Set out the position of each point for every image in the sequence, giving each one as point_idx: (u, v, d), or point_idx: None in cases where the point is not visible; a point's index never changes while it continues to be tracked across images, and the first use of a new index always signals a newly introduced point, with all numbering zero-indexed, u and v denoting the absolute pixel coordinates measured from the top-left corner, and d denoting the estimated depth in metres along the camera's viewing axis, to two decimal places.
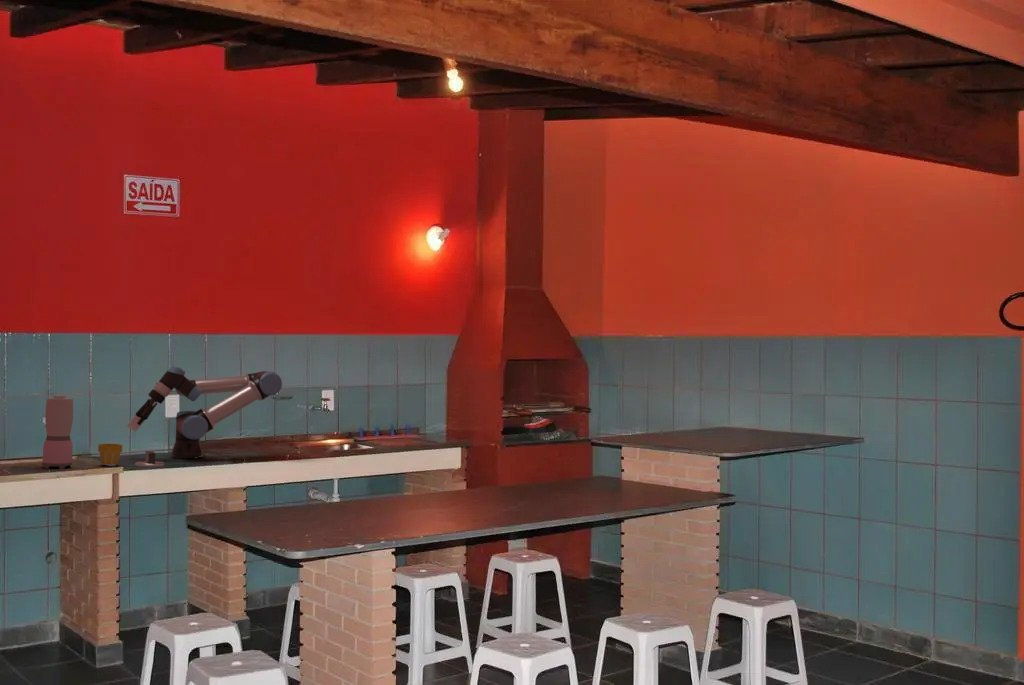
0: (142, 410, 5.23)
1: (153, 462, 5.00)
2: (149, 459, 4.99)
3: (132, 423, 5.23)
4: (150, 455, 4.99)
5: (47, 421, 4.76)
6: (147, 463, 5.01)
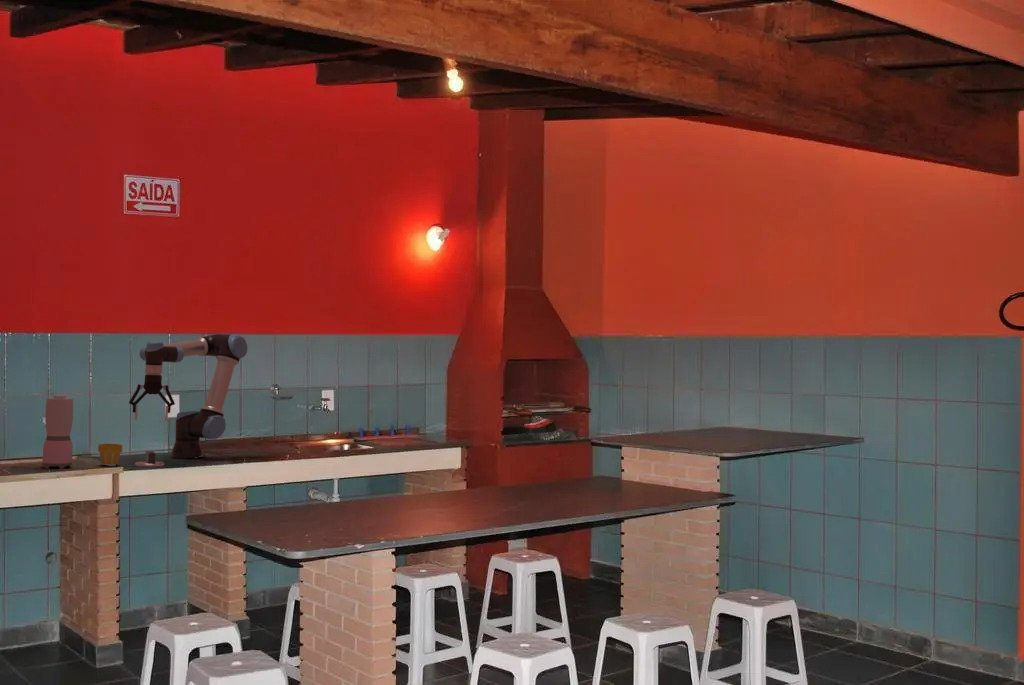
0: None
1: (153, 462, 5.00)
2: (149, 459, 4.99)
3: None
4: (150, 455, 4.99)
5: (47, 421, 4.76)
6: (147, 463, 5.01)
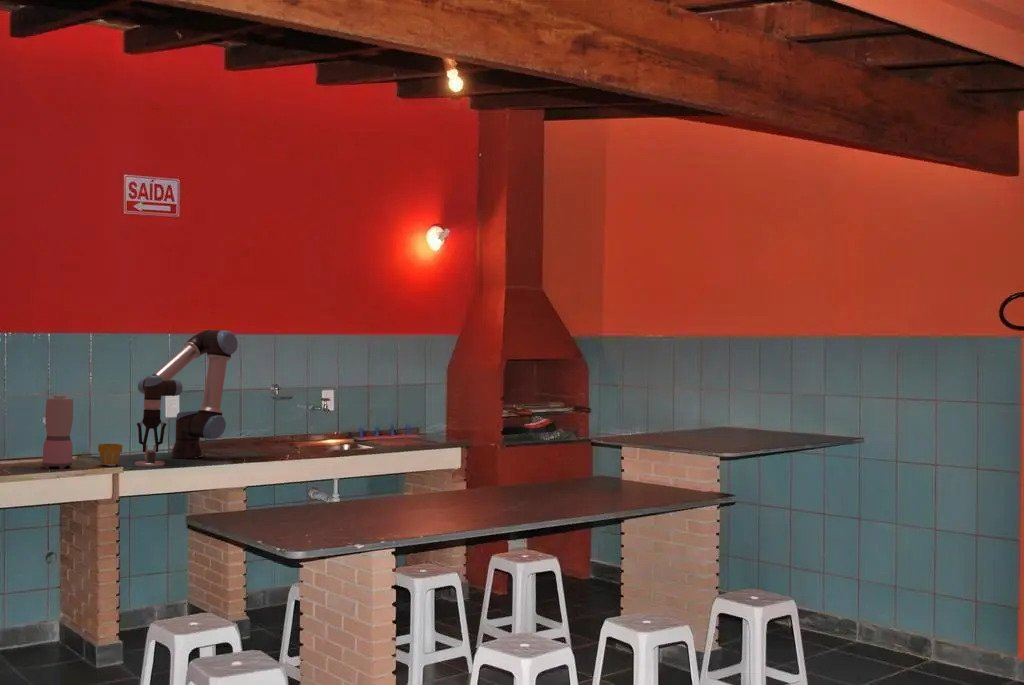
0: (147, 434, 5.03)
1: (153, 461, 5.00)
2: (149, 458, 4.99)
3: (146, 454, 5.03)
4: (150, 454, 4.99)
5: (47, 421, 4.76)
6: (147, 462, 5.01)
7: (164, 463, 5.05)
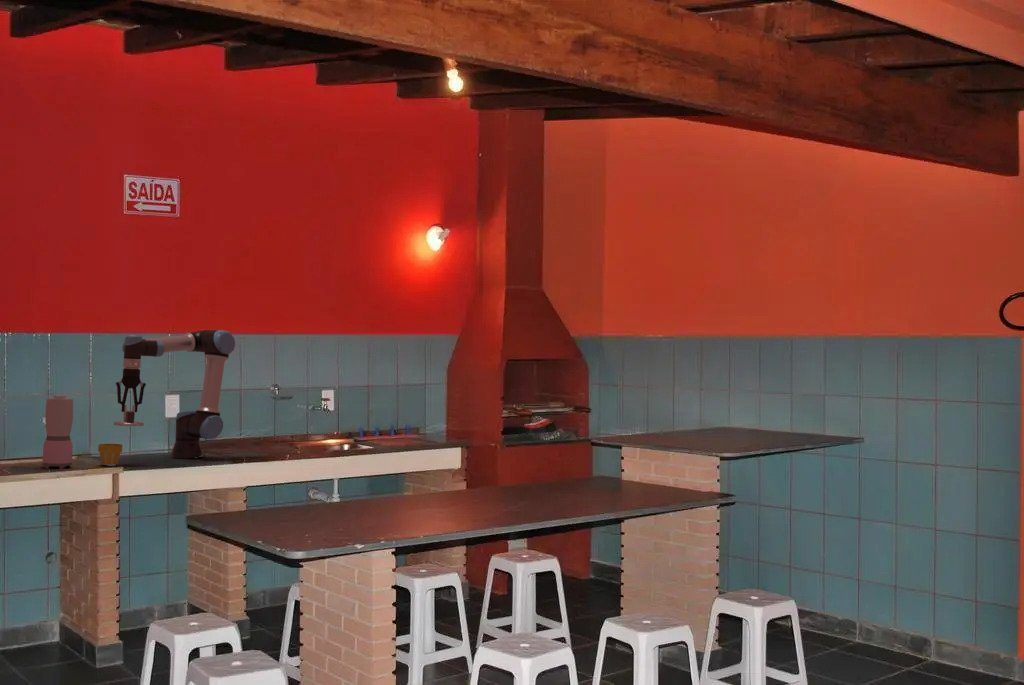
0: (126, 394, 4.97)
1: (132, 421, 4.94)
2: (128, 418, 4.93)
3: (125, 413, 4.97)
4: (129, 414, 4.93)
5: (47, 421, 4.76)
6: (126, 422, 4.95)
7: (143, 423, 5.00)
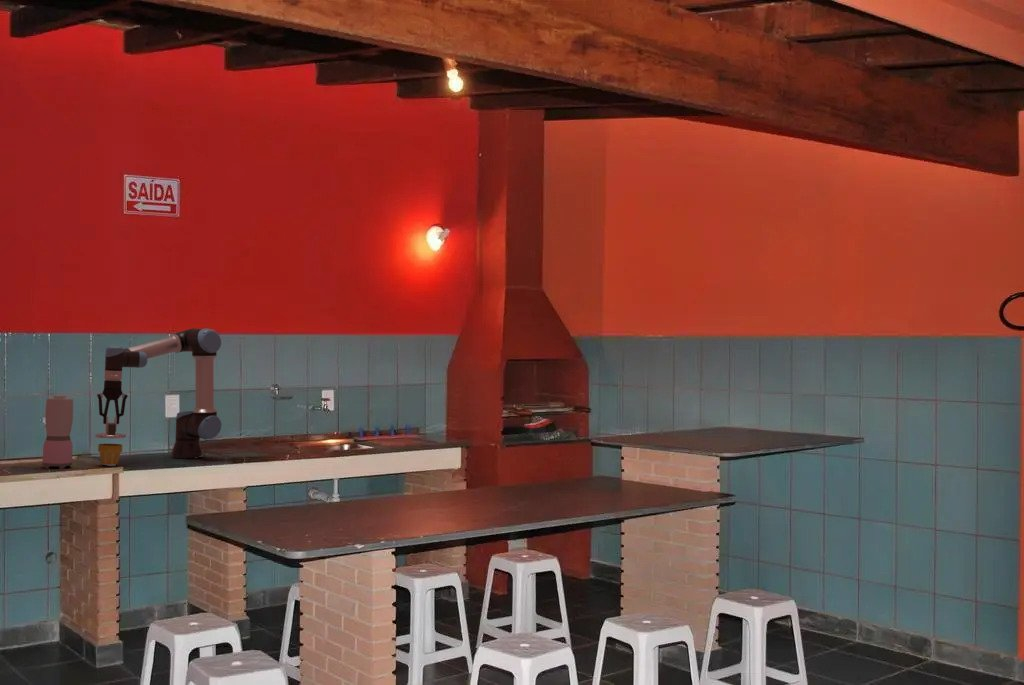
0: (108, 406, 4.93)
1: (113, 433, 4.90)
2: (109, 430, 4.89)
3: (107, 425, 4.93)
4: (110, 426, 4.89)
5: (47, 421, 4.76)
6: (107, 434, 4.91)
7: (125, 435, 4.96)
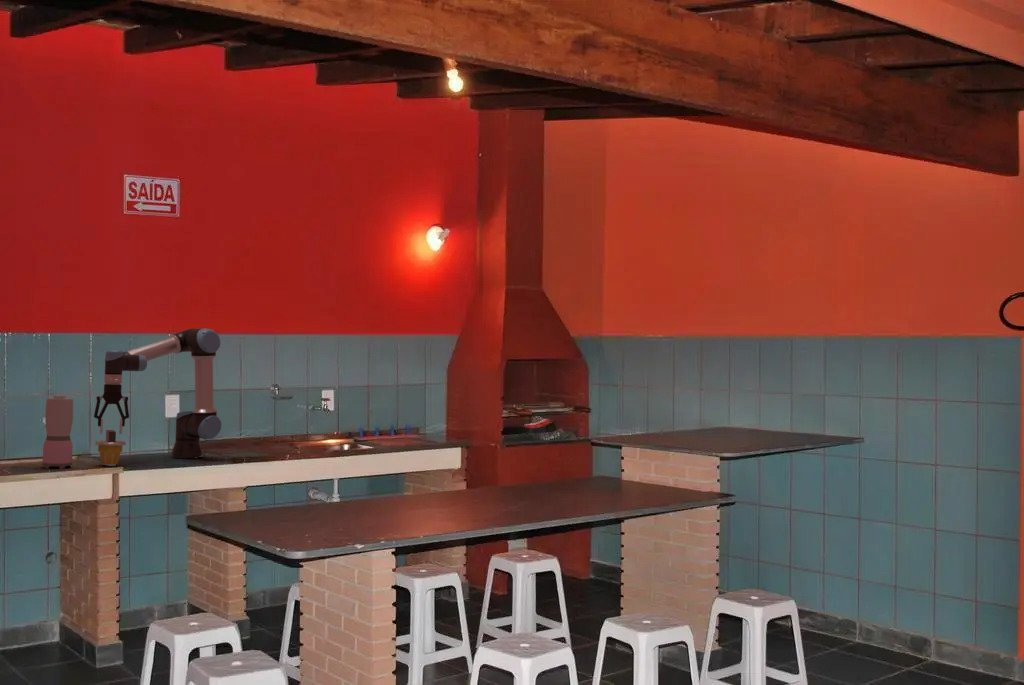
0: (105, 409, 4.93)
1: (113, 441, 4.90)
2: (109, 438, 4.89)
3: None
4: (110, 434, 4.89)
5: (47, 421, 4.76)
6: (107, 442, 4.91)
7: (125, 443, 4.96)
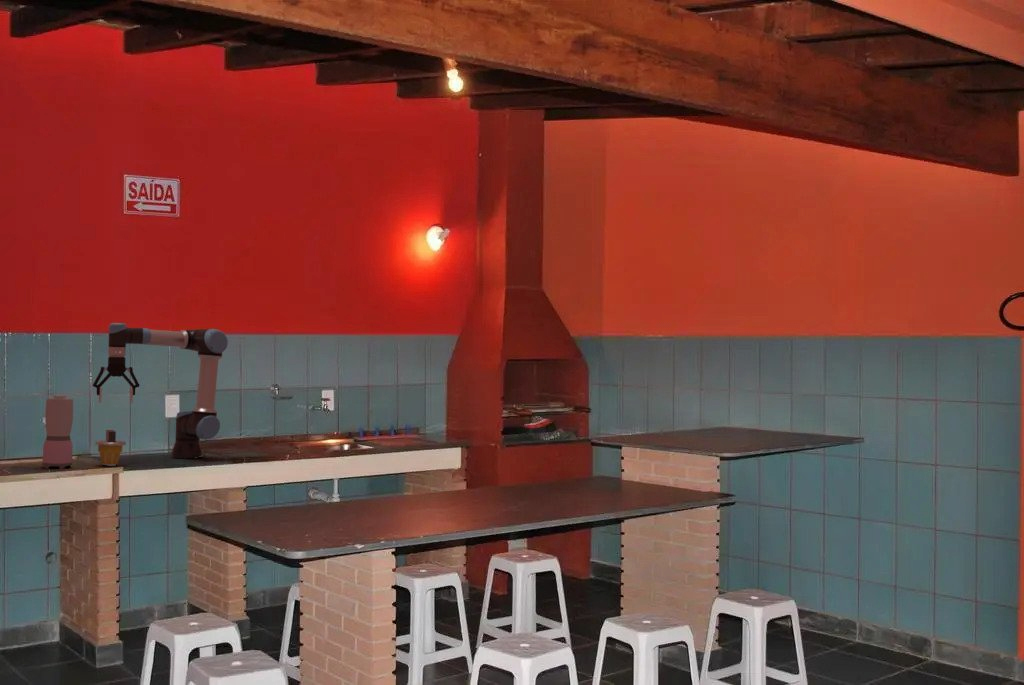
0: (106, 380, 4.96)
1: (113, 441, 4.90)
2: (109, 438, 4.89)
3: None
4: (110, 434, 4.89)
5: (47, 421, 4.76)
6: (107, 442, 4.91)
7: (125, 443, 4.96)
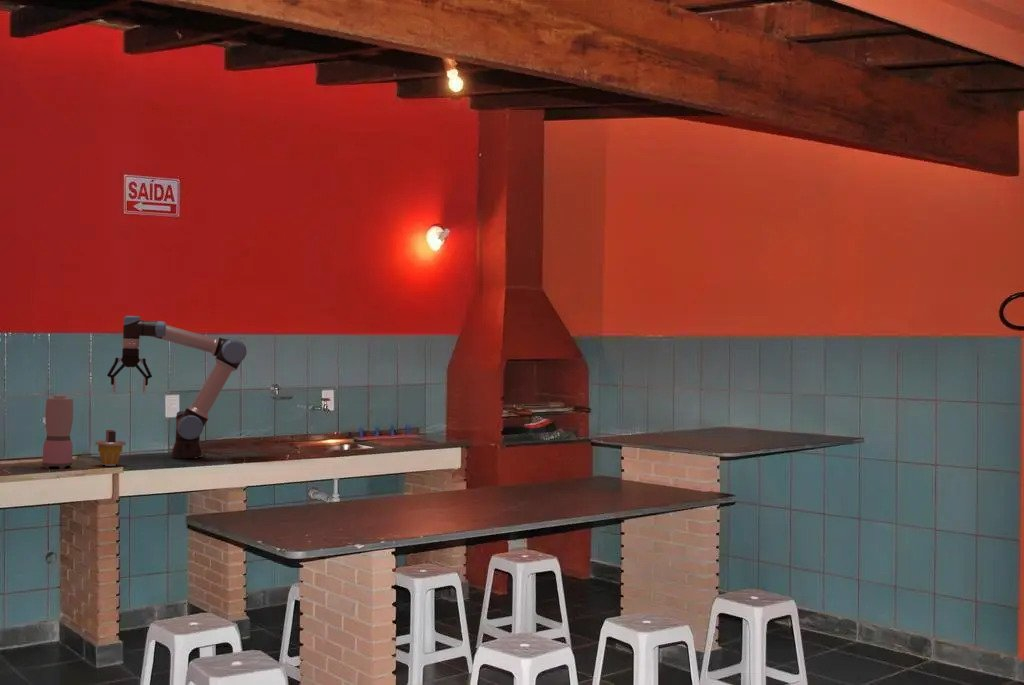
0: (120, 370, 5.17)
1: (113, 441, 4.90)
2: (109, 438, 4.89)
3: (115, 386, 5.17)
4: (110, 434, 4.89)
5: (47, 421, 4.76)
6: (107, 442, 4.91)
7: (125, 443, 4.96)
